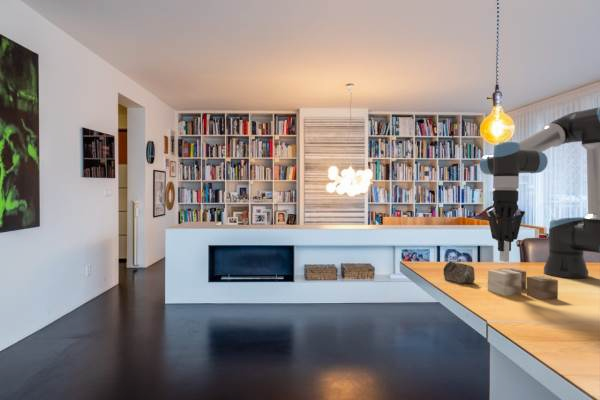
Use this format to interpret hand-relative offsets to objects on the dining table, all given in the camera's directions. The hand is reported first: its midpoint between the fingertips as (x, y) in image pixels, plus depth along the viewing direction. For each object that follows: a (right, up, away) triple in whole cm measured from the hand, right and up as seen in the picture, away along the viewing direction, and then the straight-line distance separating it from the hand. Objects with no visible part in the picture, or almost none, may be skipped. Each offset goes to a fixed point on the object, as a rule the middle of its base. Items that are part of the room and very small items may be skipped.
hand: (504, 261), depth 133 cm
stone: (-8, -10, +17) cm, 22 cm away
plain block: (0, -11, 0) cm, 11 cm away
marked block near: (+7, -10, +8) cm, 15 cm away
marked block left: (+9, -11, -6) cm, 15 cm away
